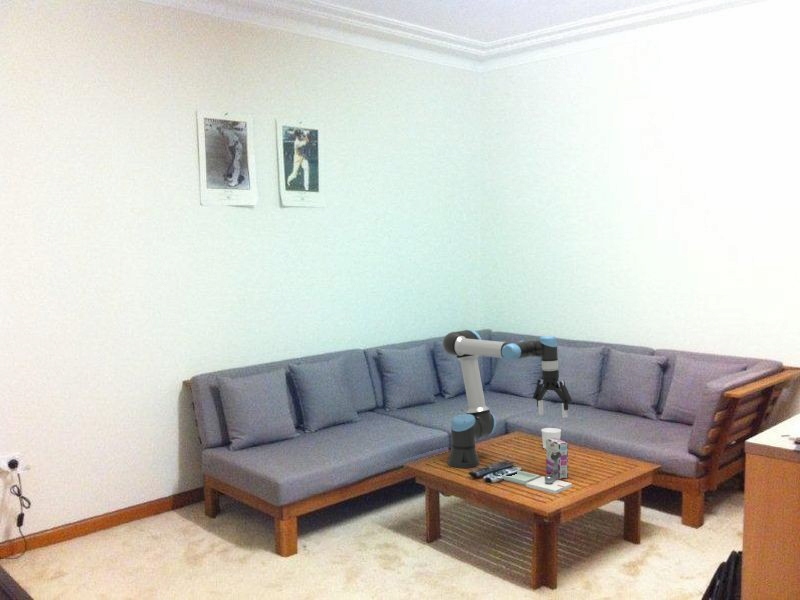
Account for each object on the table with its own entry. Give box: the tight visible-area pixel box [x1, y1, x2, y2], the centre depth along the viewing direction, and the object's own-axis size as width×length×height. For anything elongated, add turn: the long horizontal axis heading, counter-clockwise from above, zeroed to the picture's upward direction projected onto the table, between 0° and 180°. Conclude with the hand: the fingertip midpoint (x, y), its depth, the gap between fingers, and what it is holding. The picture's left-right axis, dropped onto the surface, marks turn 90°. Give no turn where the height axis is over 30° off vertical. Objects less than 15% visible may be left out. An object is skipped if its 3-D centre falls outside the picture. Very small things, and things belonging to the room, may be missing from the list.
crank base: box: [525, 476, 573, 495], centre depth 317 cm, size 15×13×2 cm
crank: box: [544, 452, 561, 484], centre depth 319 cm, size 11×4×11 cm, turn 142°
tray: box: [498, 469, 541, 487], centre depth 328 cm, size 17×11×2 cm, turn 45°
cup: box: [540, 427, 562, 450], centre depth 377 cm, size 10×10×10 cm
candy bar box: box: [545, 438, 569, 480], centre depth 332 cm, size 11×5×16 cm, turn 21°
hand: (553, 415), depth 332 cm, fingers open, 13 cm apart
